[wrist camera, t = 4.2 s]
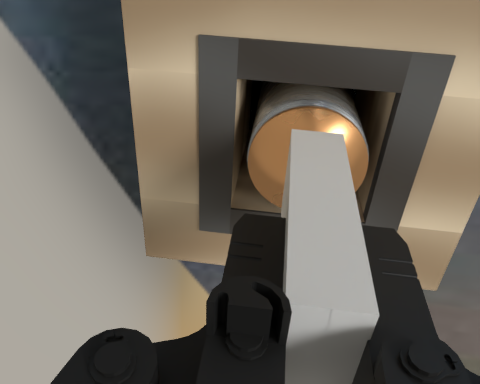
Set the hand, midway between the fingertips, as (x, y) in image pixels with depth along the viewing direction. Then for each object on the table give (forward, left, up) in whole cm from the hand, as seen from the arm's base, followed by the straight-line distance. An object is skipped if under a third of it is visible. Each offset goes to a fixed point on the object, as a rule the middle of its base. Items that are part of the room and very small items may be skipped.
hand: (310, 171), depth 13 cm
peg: (0, 0, -8) cm, 8 cm away
